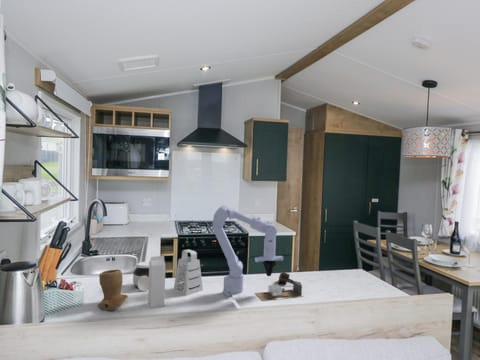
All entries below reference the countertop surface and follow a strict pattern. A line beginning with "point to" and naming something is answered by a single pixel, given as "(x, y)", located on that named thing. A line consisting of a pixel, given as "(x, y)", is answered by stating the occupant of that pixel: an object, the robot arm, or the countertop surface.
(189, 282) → the grater
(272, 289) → the brushed steel box
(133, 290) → the countertop surface
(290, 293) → the rail board
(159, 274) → the milk
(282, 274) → the mechanical counter
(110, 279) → the brown boot
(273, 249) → the robot arm
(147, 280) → the spread jar
